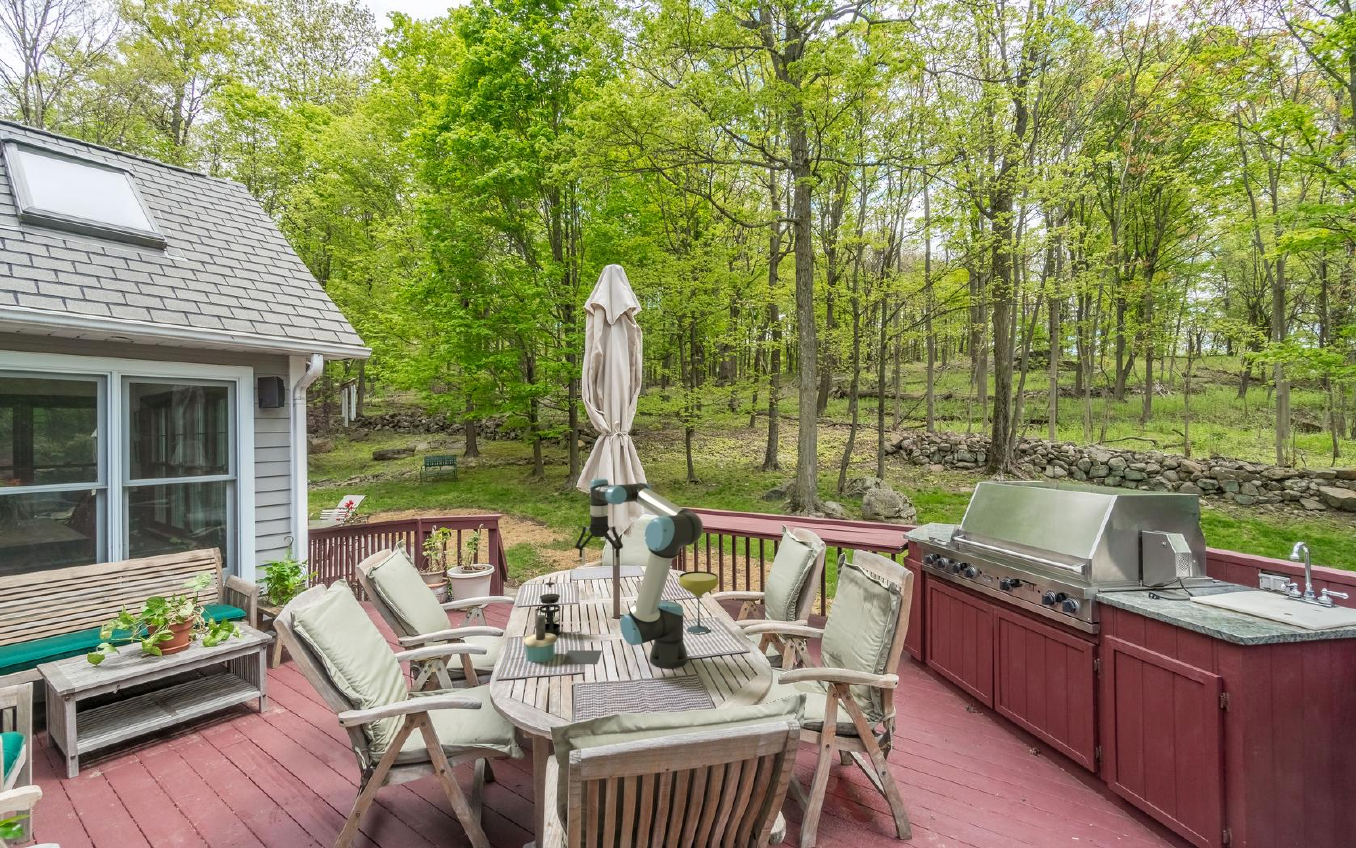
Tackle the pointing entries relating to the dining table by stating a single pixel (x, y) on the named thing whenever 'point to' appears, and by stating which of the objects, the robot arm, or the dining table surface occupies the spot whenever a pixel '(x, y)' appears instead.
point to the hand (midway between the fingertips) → (599, 565)
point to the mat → (582, 657)
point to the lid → (540, 635)
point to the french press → (550, 612)
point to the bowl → (540, 653)
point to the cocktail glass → (698, 590)
